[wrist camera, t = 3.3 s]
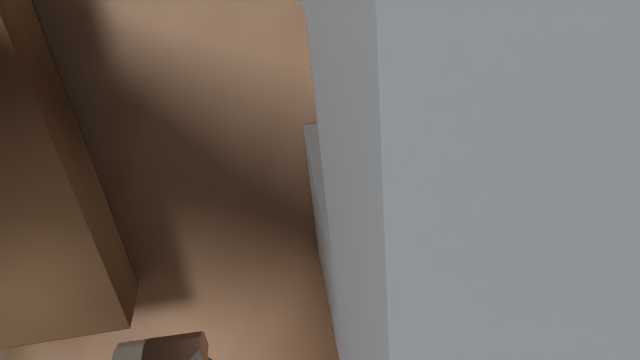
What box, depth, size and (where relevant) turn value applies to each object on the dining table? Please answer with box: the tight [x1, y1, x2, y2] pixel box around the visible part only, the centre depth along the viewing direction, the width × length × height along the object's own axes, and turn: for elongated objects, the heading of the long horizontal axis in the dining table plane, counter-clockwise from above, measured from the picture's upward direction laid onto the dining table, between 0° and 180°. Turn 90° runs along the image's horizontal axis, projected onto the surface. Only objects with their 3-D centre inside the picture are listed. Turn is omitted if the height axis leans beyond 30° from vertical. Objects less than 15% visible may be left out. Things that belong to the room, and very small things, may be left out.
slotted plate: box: [300, 0, 640, 360], centre depth 8 cm, size 12×2×9 cm, turn 5°
